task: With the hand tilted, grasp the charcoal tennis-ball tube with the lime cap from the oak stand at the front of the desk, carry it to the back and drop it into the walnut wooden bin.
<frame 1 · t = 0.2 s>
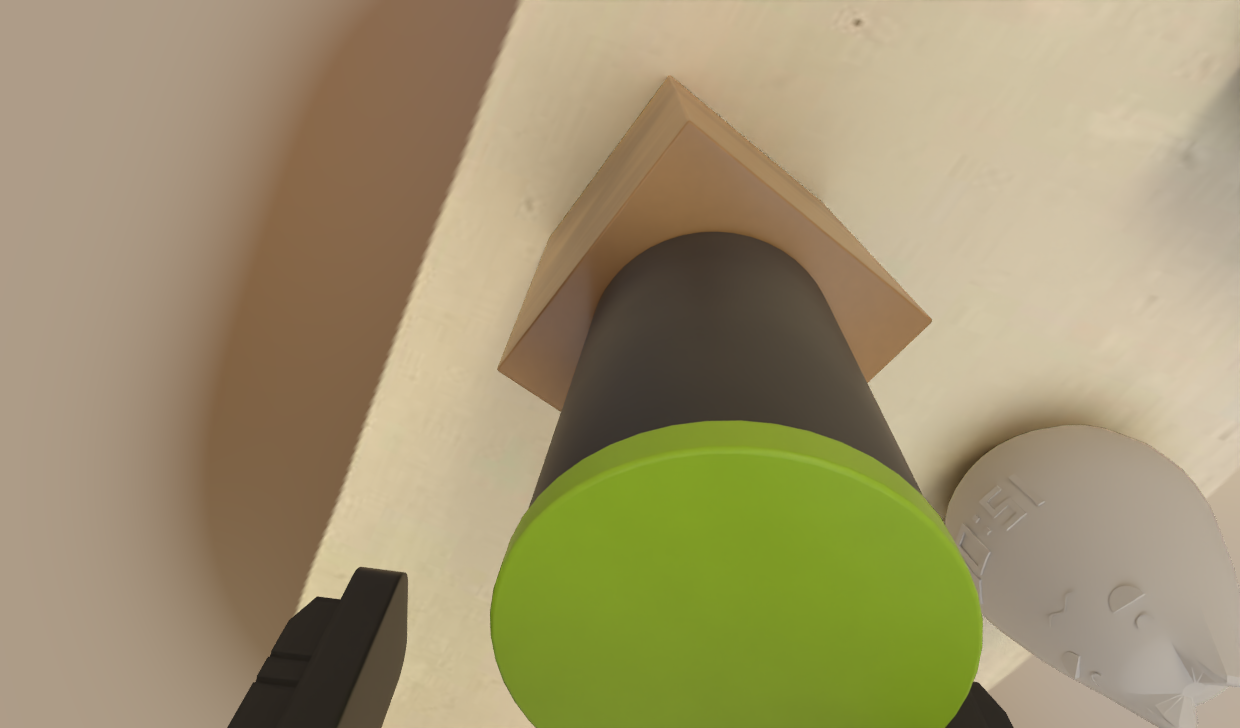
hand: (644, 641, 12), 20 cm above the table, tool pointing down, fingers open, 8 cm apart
stand: (683, 221, 29), on the table
ball tube: (709, 350, 18), point 12 cm above the table, touching gripper, stand
toy character: (1030, 489, 35), on the table
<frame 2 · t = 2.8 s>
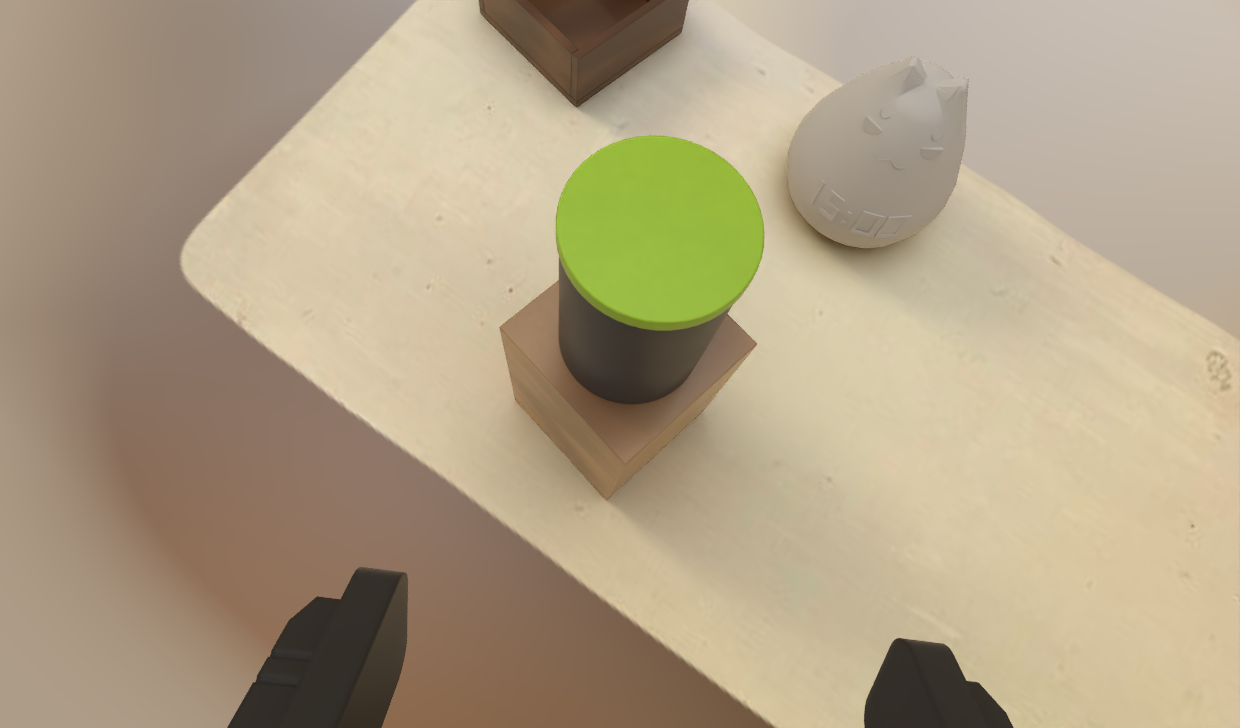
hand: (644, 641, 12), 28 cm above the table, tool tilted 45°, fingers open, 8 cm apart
stand: (610, 404, 42), on the table
ball tube: (630, 335, 31), point 12 cm above the table, touching stand
bin: (582, 23, 51), on the table
toy character: (847, 197, 48), on the table
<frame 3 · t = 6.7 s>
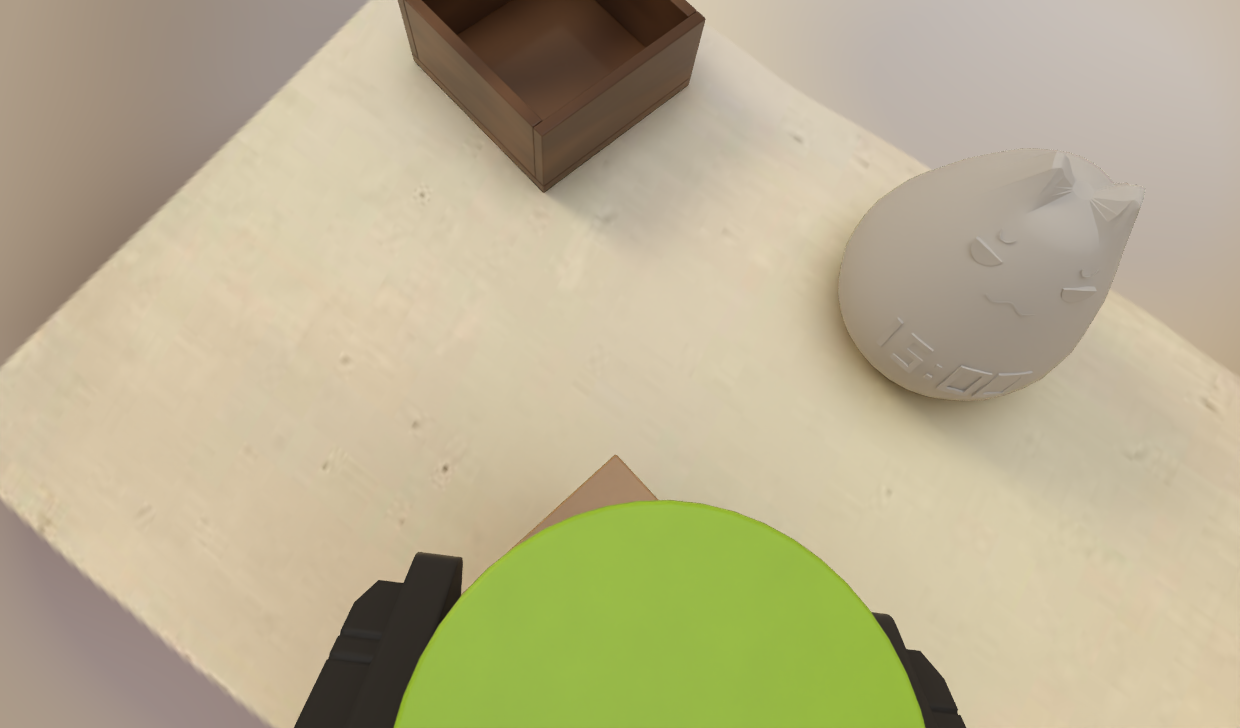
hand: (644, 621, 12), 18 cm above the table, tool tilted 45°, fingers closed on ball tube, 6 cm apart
stand: (587, 646, 29), on the table
ball tube: (607, 681, 17), point 12 cm above the table, touching gripper, stand
bin: (553, 72, 37), on the table
toy character: (919, 316, 35), on the table
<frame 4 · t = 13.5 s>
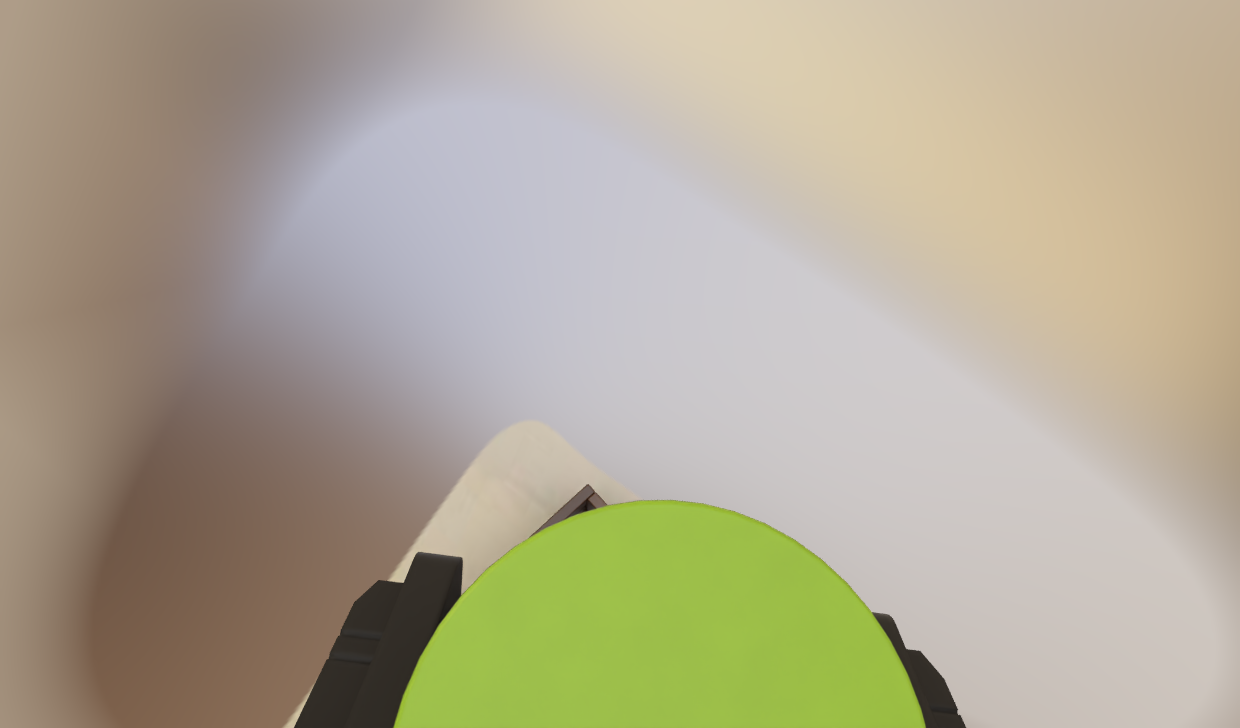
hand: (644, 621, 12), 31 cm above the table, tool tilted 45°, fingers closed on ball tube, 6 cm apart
ball tube: (607, 681, 17), point 25 cm above the table, touching gripper
bin: (578, 620, 41), on the table
when the fingers open (7 cm above the table, at t = 20.3 s): ball tube stays where it is, resting on bin.
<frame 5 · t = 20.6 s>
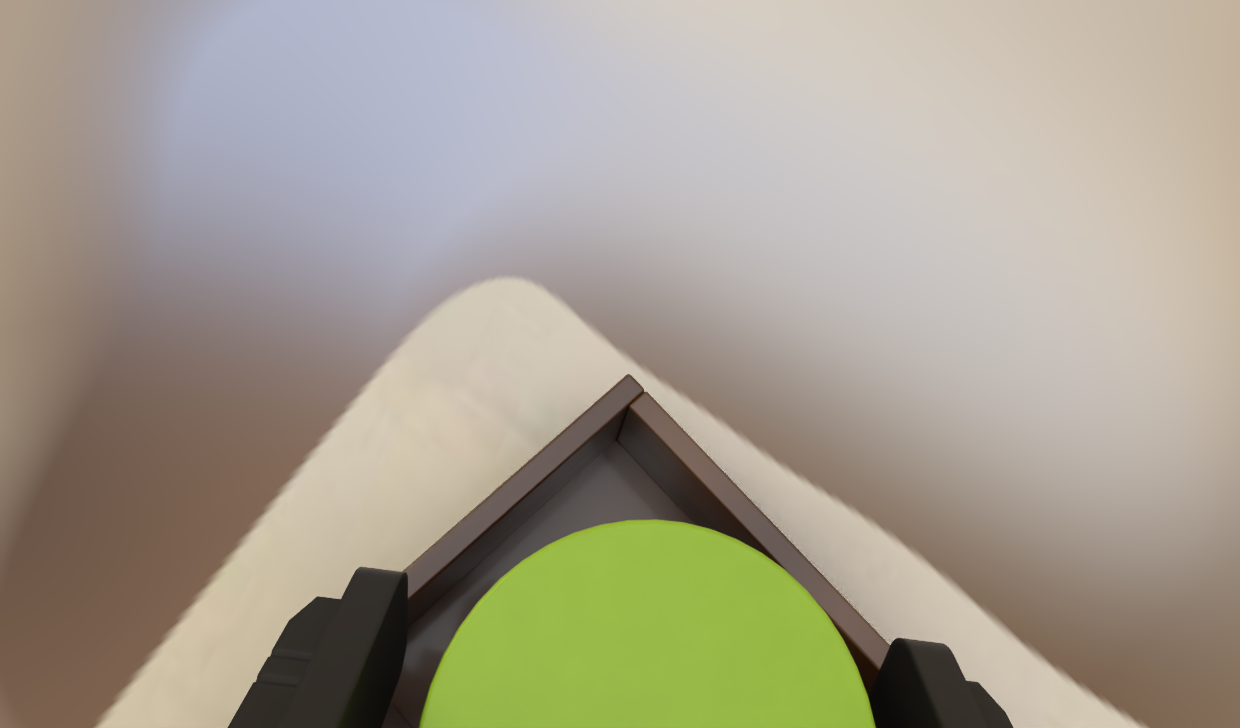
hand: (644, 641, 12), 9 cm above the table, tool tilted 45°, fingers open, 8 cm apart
ball tube: (608, 677, 19), point 1 cm above the table, touching bin
bin: (606, 671, 19), on the table
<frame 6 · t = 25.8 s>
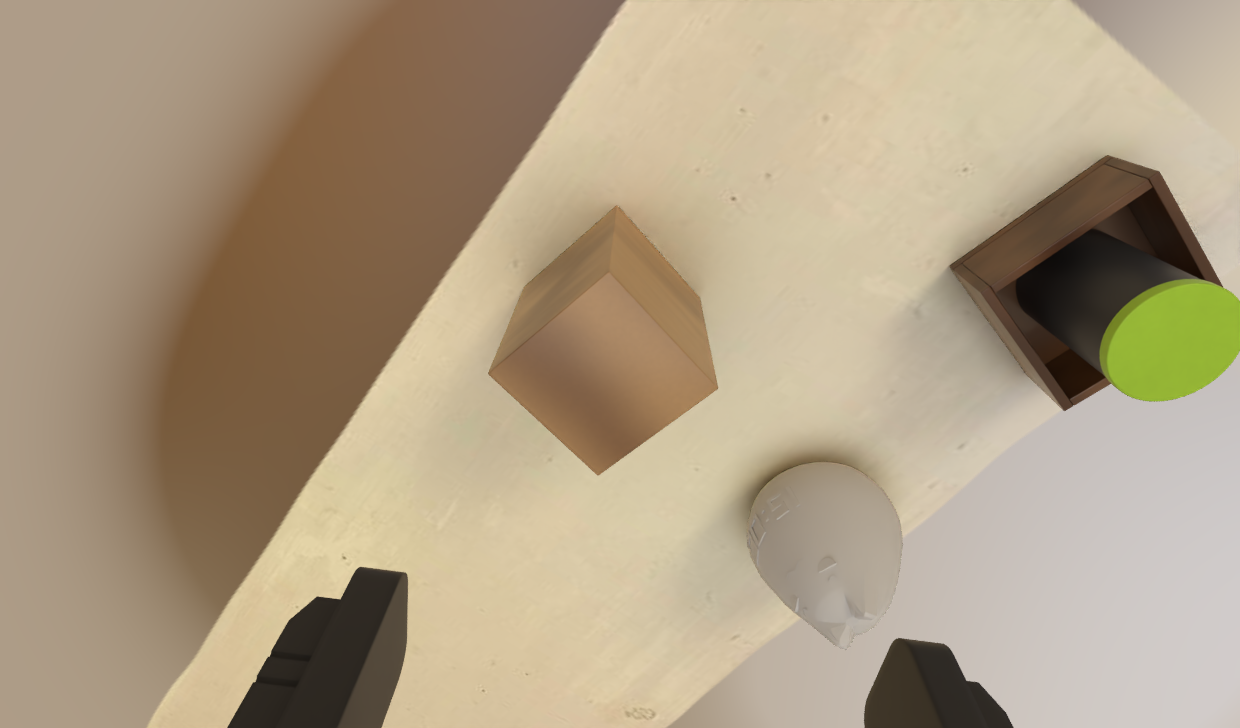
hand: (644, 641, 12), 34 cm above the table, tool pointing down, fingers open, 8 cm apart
stand: (612, 292, 45), on the table
ball tube: (1068, 277, 43), point 1 cm above the table, touching bin
bin: (1064, 273, 44), on the table
toy character: (810, 502, 52), on the table
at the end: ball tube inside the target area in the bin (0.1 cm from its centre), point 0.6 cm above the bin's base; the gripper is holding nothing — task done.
